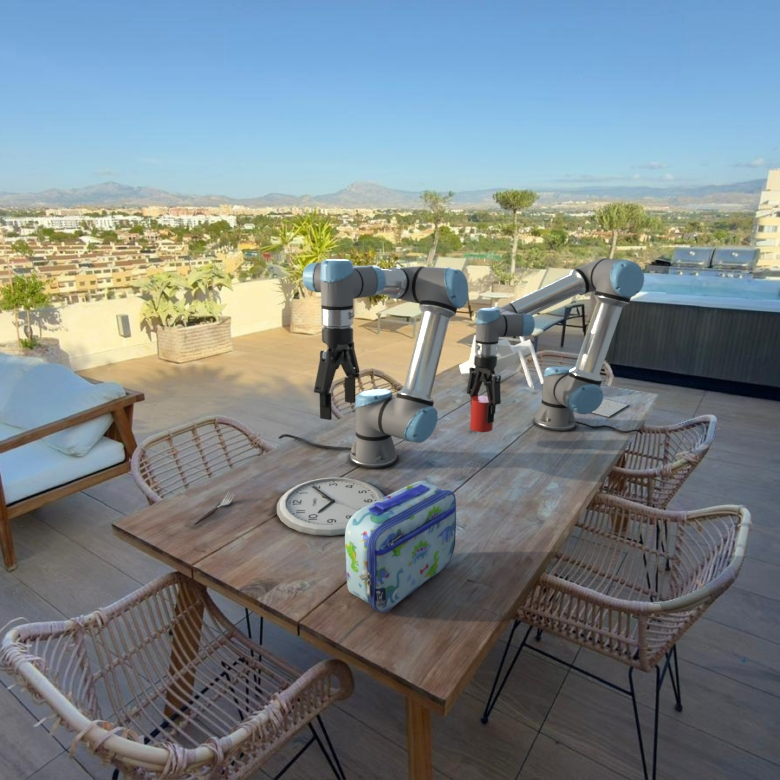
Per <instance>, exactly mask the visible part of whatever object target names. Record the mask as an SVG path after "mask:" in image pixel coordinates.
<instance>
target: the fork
mask: <svg viewBox="0 0 780 780" xmlns="http://www.w3.org/2000/svg"><path fill="white" fill-rule="evenodd" d="M236 494H237V491H233V492H232V490H230V491H228V492H227V494H226V496H225V497H224V498H223V500H222V501H221V502H220V504H219V505H217V506H216V507H215V508H213V509H211V510H209V511H208V512H207V513H205V514H204V515H203V516H202V517H200V519H198V520H197V521H196V522H195V523H194V524H193V525H194V526H196V525H199V524H200V523H201V522H202V521H204V520H206V519H207V518H209V517H210V516H212V515H213V514H214V513H216V511H218V509H219V508H220V507H226V506H229V505H230V504H231V503H232V501H233V500H234V497H235V496H236Z"/></svg>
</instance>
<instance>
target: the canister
mask: <svg viewBox="0 0 780 780" xmlns="http://www.w3.org/2000/svg"><path fill="white" fill-rule="evenodd" d="M492 401H493V400H492ZM488 404H489V401H488V396H487V395H479V396H474V397H472V404H470V424H469V425H470V426H469V428H470V430H472V431H473V432H477V433H489V432H491V431H493V427H494V422H491V423H486V416H487V405H488Z"/></svg>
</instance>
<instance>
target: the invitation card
mask: <svg viewBox="0 0 780 780" xmlns="http://www.w3.org/2000/svg"><path fill="white" fill-rule="evenodd" d="M628 406H629V404H627V403H623V402H618V401H614V400H609V399H605V398H603V401H602V403H601V405H600V406H599V407H598V408H597V409H596V410H595V411H592V412H591V413H593V414H596V415H600V416H604V417H608V418H609V417H611V416H613V415H614V414H616V413H617V412H619V411H621V410H623V409H624V408H626V407H628Z"/></svg>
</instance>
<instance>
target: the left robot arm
mask: <svg viewBox="0 0 780 780" xmlns="http://www.w3.org/2000/svg"><path fill="white" fill-rule="evenodd" d="M302 283H303V286H304V287H305V288H306V289H307V290H308V291H310V292H315V293H320V303H321V304H320V307H321V308H320V313H321V315H320V316H321V318H320V320H321V322H320V323H321V325H322V328H321V342H322V343H323V344H325V345H326V350H320V352H319V362H318V368H317V372H316V379H315V383H314V388H313V393H314V394H319V419H322V420H328V421H332V419H333V418H332V416H333V415H332V414H333V412H332V411H333V410H332V407H333V406H332V393H331V392H330V391H331V387H332V385H333V381H334V378H335V375H336V372H337V370H339V369H340V366H341V368H342V370H343V372H344V374H345V377H344V402H345V403H349V404H355V405H354V412H355V413H354V414H355V415H354V416H355V417H354V419H355V421H354V423H355V437H354V441H353V443H352V447H349V446H333V445H324V444H318V443H313V442H310V441H307V440H306V439H304V438H302V437H300V438H299V436H296V435H292V434H288V433H284V434H281V435H279V436H278V439H279V440H281V439H282V438H290V439H294V440H298V441H300V442H302V443H304V444H306V445H308V446H311V447H315V448H320V449H327V450H340V451H350V452H349V460H350V462H351V463H352V464H353V465H355V466H357V467H361V468H366V469H381V468H386V467H389V466H392V465H393V464H394V463H396V462H397V459H398V458H397V457H398V455H397V450H396V447H395V443H394V441H393V438H392V437H394V438H397V439H401V440H405V442H412V443H417V444H419V443H423V442H425V441H428V439H429V438H430V437H431V436H432V434H433V433H434V431H435V429H436V426H437V423H438V418H439V417H438V411H437V409H436V408H435V407H434V404H435V401H434V398H433V397H432V391H433V387H434V384H435V378H436V375H437V370H438V367H439V363H440V359H441V355H442V352H443V347H444V343H445V339H446V335H447V332H448V331H447V330H448V327H449V323H450V320H451V319H452V318H454V317H456V316H457V311H458V310H461V309H463V308H464V307H465V306H466V305H467V303H468V298H469V282H468V279H467V276H466V274H465V273H464V272H463V271H462V269H458V268H451V267H448V266H447V267H440V266H439V267H437V266H424V265H423V266H422V265H419V266H418V265H417V266H416V265H415V266H403V267H401V266H399V267H397V266H393V267H392V266H391V267H389V268H387V269H384V268H381V267H380V266H377V265H369V264H366V265H354V263H353V261H352V260H351V259H345V258H328V259H327V258H326V259H324V260H322V261H321V262H310V263H308V264H307V265H306V266H305V267H304V269H303V271H302ZM375 296H386V297H387V298H389V299H392V300H394V299H396V300H402V301H406V302H410V303H412V304H413V303H414V304H419V305H418V308H419V310H420V312H421V316H420V320H419V324H418V329H417V333H416V337H415V340H414V346H413V349H412V353H411V357H410V361H409V365H408V369H407V373H406V377H405V380H404V385H403V388H402V389H400V390H399V391H397V392H396V397H393V396H394V394H393V392H392V391H391V390H390V389H387V388H374V389H368V390H363V391H361V392H359V393H358V394H357V395H356V379H358V378H360V367H359V363H358V360H357V359H358V358H357V354H356V351H355V342H354V327H353V326H352V325H353V324H354V317H355V313H354V300H355V299H361V298H371V297H372V298H373V297H375Z"/></svg>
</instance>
